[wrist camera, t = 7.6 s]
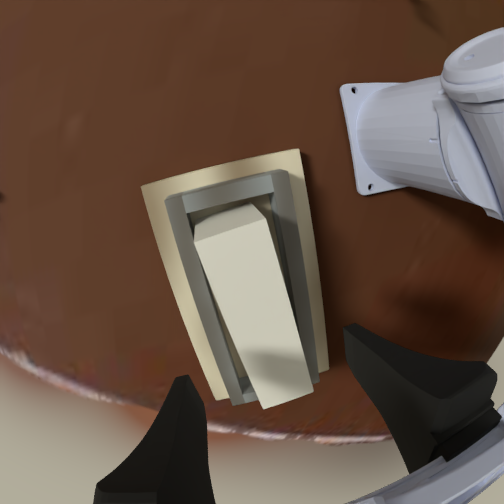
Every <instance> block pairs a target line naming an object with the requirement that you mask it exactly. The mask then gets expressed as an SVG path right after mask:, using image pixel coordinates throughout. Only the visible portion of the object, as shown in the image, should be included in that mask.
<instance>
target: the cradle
mask: <svg viewBox="0 0 504 504" xmlns="http://www.w3.org/2000/svg"><path fill="white" fill-rule="evenodd" d="M141 189H142V193H143V197H144V200H145V204H146V207H147V211H148V214H149V218H150V221H151V225H152V228H153V231H154V235H155V238H156V241H157V244H158V248H159V251H160V254H161V257H162V260H163V263H164V266H165V269H166V272H167V275H168V278H169V281H170V284H171V287H172V290H173V293H174V296H175V298H176V301H177V304H178V307H179V310H180V312H181V315H182V318H183V320H184V323H185V326H186V328H187V331H188V334H189V336H190V339H191V341H192V344H193V346H194V349H195V352H196V354H197V356H198V359H199V361H200V364H201V366H202V369H203V371H204V374H205V376H206V378H207V381H208V383H209V385H210V388H211V390H212V392H213V395H214V397H215V399H216V400H221V399H225V398H230V400H231V402H232V405H233V406H235V405H239V404H243V403H247V402H251V401H255V400H259V399H258V397H257V394H256V392H255V390H254V388H253V385H252V383H251V381H250V379H249V377H248V374H247V372H246V370H245V367H244V365H243V363H242V361H241V358H240V356H239V354H238V351H237V349H236V347H235V344H234V342H233V340H232V337H231V335H230V332H229V330H228V328H227V325H226V323H225V320H224V318H223V316H222V313H221V311H220V308H219V306H218V303H217V301H216V298H215V296H214V293H213V291H212V288H211V286H210V283H209V281H208V278H207V276H206V273H205V271H204V268H203V265H202V263H201V260H200V258H199V255H198V252H197V250H196V247H195V244H194V234H195V222H196V219H198V218H201V217H204V216H207V215H210V214H213V213H216V212H219V211H222V210H225V209H228V208H231V207H234V206H237V205H240V204H243V203H246V202H249V201H250V202H251V203H252V204H253V205H254V206H255V207H256V209H257V210H258V211H259V212H260V213H261V214H262V215H263V216H264V217H265V218H266V221H267V224H268V227H269V231H270V234H271V238H272V241H273V245H274V248H275V252H276V255H277V259H278V262H279V266H280V269H281V273H282V276H283V280H284V283H285V287H286V290H287V294H288V298H289V301H290V305H291V308H292V312H293V316H294V319H295V323H296V327H297V330H298V334H299V338H300V341H301V345H302V349H303V353H304V356H305V360H306V364H307V368H308V371H309V375H310V379H311V383H312V384H314V383H317V382H320V381H319V373H320V372H323V371H326V370H329V361H328V350H327V339H326V329H325V319H324V310H323V301H322V293H321V284H320V276H319V269H318V261H317V254H316V247H315V240H314V233H313V227H312V220H311V214H310V208H309V202H308V196H307V190H306V184H305V179H304V173H303V168H302V162H301V157H300V152H299V149H292V150H286V151H281V152H276V153H271V154H266V155H261V156H256V157H251V158H247V159H242V160H238V161H233V162H229V163H224V164H220V165H216V166H212V167H208V168H204V169H200V170H196V171H192V172H188V173H184V174H181V175H177V176H173V177H170V178H166V179H163V180H159V181H156V182H152V183H149V184H145V185H143V186H141Z"/></svg>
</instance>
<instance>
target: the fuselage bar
mask: <svg viewBox="0 0 504 504" xmlns="http://www.w3.org/2000/svg"><path fill="white" fill-rule="evenodd" d="M194 244H195V247H196V250H197V252H198V255H199V258H200V260H201V263H202V265H203V268H204V271H205V273H206V276H207V278H208V281H209V283H210V286H211V288H212V291H213V293H214V296H215V298H216V301H217V303H218V306H219V308H220V311H221V313H222V316H223V318H224V320H225V323H226V325H227V328H228V330H229V332H230V335H231V337H232V340H233V342H234V344H235V347H236V349H237V351H238V354H239V356H240V358H241V361H242V363H243V365H244V367H245V370H246V372H247V374H248V377H249V379H250V381H251V383H252V385H253V388H254V390H255V392H256V394H257V397H258V399H259V401H260V403H261V405H262V407H263V409H266V408H269V407H272V406H275V405H278V404H281V403H284V402H287V401H290V400H293V399H295V398H298V397H301V396H304V395H306V394H309V393H312V392H314V391H313V387H312V383H311V379H310V375H309V371H308V368H307V364H306V360H305V356H304V353H303V349H302V345H301V341H300V338H299V334H298V330H297V327H296V323H295V319H294V316H293V312H292V308H291V305H290V301H289V298H288V294H287V290H286V287H285V283H284V280H283V276H282V273H281V269H280V266H279V262H278V259H277V255H276V252H275V248H274V245H273V241H272V238H271V234H270V231H269V227H268V224H267V221H266V218H265V217H264V216H263V215H262V214H261V213H260V212H259V211H258V210H257V209H256V207H255V206H254V205H253V204H252V203H251V202H250V201H249V202H246V203H243V204H240V205H237V206H234V207H231V208H228V209H225V210H222V211H219V212H216V213H213V214H210V215H207V216H204V217H201V218H198V219H196V222H195V234H194Z"/></svg>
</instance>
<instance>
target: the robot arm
mask: <svg viewBox="0 0 504 504" xmlns="http://www.w3.org/2000/svg"><path fill="white" fill-rule="evenodd" d="M351 88H354V89H355V94H354V93H352V91H351ZM340 95H341V99H342V104H343V109H344V114H345V119H346V124H347V130H348V135H349V141H350V147H351V153H352V159H353V165H354V172H355V179H356V187H357V191H358V193H359V194H361V195H369V194H374V193H379V192H383V191H388V190H393V189H398V188H403V187H407V186H411V187H415V188H419V189H423V190H427V191H430V192H434V193H438V194H442V195H445V196H449V197H452V198H456V199H459V200H463V201H466V202H470V203H473V204H476V205H479V206H481V207H482V208H483V209H484V210H485V211H486V214H487V215H488V216H491V217H494V218H496V219H499V220H502V221H504V27H503V28H499V29H496V30H493V31H490V32H487V33H484V34H482V35H480V36H478V37H476V38H474V39H472V40H470V41H468V42H466V43H465V44H463V45H462V46H460V47H459V48H457V49H456V50H455V51H454V52H453V53H452V54H451V55H450V56H449V57H448V58H447V59H446V61H445V63H444V68H443V71H442V74H441V76H436V77H431V78H426V79H421V80H416V81H412V82H407V83H356V84H345V85H342V86H341V87H340ZM369 184H371V189H370V190H368V185H369ZM343 332H344V342H345V353H346V361H347V363H348V365H349V367H350V369H351V371H352V372H353V374H354V376H355V378H356V379H357V381H358V382H359V383H360V385H361V386H362V388H363V389H364V391H365V392H366V393H367V395H368V396H369V398H370V399H371V400H372V402H373V403H374V405H375V406H376V407H377V409H378V410H379V412H380V413H381V415H382V417H383V419H384V421H385V422H386V424H387V426H388V428H389V430H390V432H391V434H392V436H393V438H394V440H395V442H396V444H397V446H398V449H399V451H400V453H401V455H402V457H403V460H404V462H405V464H406V467H407V469H408V472H409V475H407V476H406V477H404V478H402V479H400V480H398V481H396V482H394V483H392V484H390V485H388V486H385V487H383V488H381V489H379V490H377V491H375V492H372V493H370V494H368V495H365V496H363V497H361V498H358V499H356V500H353V501H351V502H348V503H345V504H467V503H469V502H470V501H471V500H473V499H474V498H475V497H476V496H478V495H479V494H480V493H481V492H483V491H484V490H485V489H486V488H488V487H489V486H490V485H491V484H492V483H493V482H494V481H496V480H497V479H498V478H499V477H500V476H501V475H502V474H503V473H504V403H503V404H502V405H501V406H500V407H499V408H498V409H497V411H496V410H495V409H494V408H493V406H494V402H493V401H492V400H491V399H490V398H491V395H492V393H493V390H494V388H495V386H496V382H497V373H496V372H495V371H494V370H493V369H491V368H490V367H489V366H488V365H487V364H486V363H485V362H484V361H456V360H448V359H442V358H437V357H432V356H428V355H424V354H421V353H418V352H414V351H411V350H409V349H406V348H404V347H401V346H399V345H396V344H394V343H392V342H390V341H388V340H386V339H384V338H382V337H380V336H378V335H376V334H374V333H372V332H370V331H369V330H367V329H365V328H363V327H361V326H360V325H358V324H356V323H354V324H351V325H349V326H346V327H343ZM207 444H208V443H207V420H206V414H205V408H204V403H203V401H202V399H201V397H200V396H199V394H198V392H197V390H196V388H195V386H194V384H193V382H192V380H191V379H190V377H189V375H184V376H179V377H176V378H175V380H174V382H173V384H172V386H171V388H170V391H169V393H168V395H167V397H166V399H165V401H164V403H163V405H162V407H161V409H160V411H159V413H158V415H157V417H156V419H155V420H154V422H153V424H152V426H151V427H150V429H149V430H148V432H147V434H146V435H145V436H144V438H143V440H142V441H141V442H140V443H139V445H138V446H137V447H136V448H135V449H134V450H133V452H132V453H131V454H130V455H129V456H128V457H127V458H126V459H125V460H124V461H123V462H122V463H121V464H120V465H119V466H118V467H117V468H116V469H115V470H113V471H112V472H111V473H110V474H108V475H107V476H106V477H105V478H104V479H102V480H101V481H99V482H98V483H97V485H96V489H95V495H94V502H93V504H216V503H215V499H214V494H213V489H212V484H211V479H210V473H209V466H208V445H207Z"/></svg>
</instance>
